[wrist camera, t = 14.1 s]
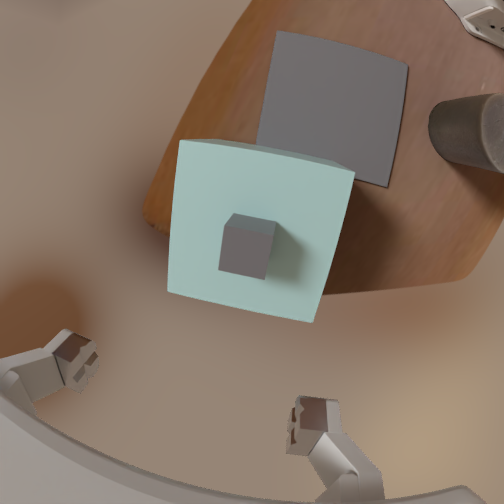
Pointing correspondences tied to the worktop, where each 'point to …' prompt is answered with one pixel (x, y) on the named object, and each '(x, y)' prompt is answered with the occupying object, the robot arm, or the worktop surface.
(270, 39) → the worktop surface
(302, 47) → the mat
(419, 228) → the worktop surface
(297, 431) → the robot arm
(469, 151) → the pillar candle
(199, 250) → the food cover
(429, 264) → the worktop surface
